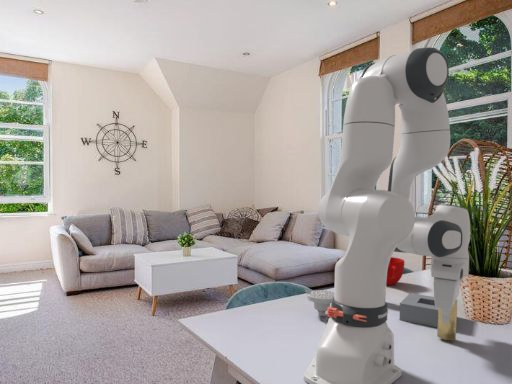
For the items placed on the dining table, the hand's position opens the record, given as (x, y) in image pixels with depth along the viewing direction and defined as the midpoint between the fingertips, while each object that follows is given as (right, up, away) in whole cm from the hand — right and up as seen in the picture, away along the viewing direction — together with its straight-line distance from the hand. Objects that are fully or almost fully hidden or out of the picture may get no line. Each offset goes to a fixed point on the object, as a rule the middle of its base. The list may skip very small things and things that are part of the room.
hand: (447, 319), depth 102 cm
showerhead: (-30, -5, +17) cm, 35 cm away
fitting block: (+3, -5, +17) cm, 18 cm away
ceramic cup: (+4, -5, +57) cm, 57 cm away
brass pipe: (0, -5, 0) cm, 5 cm away
